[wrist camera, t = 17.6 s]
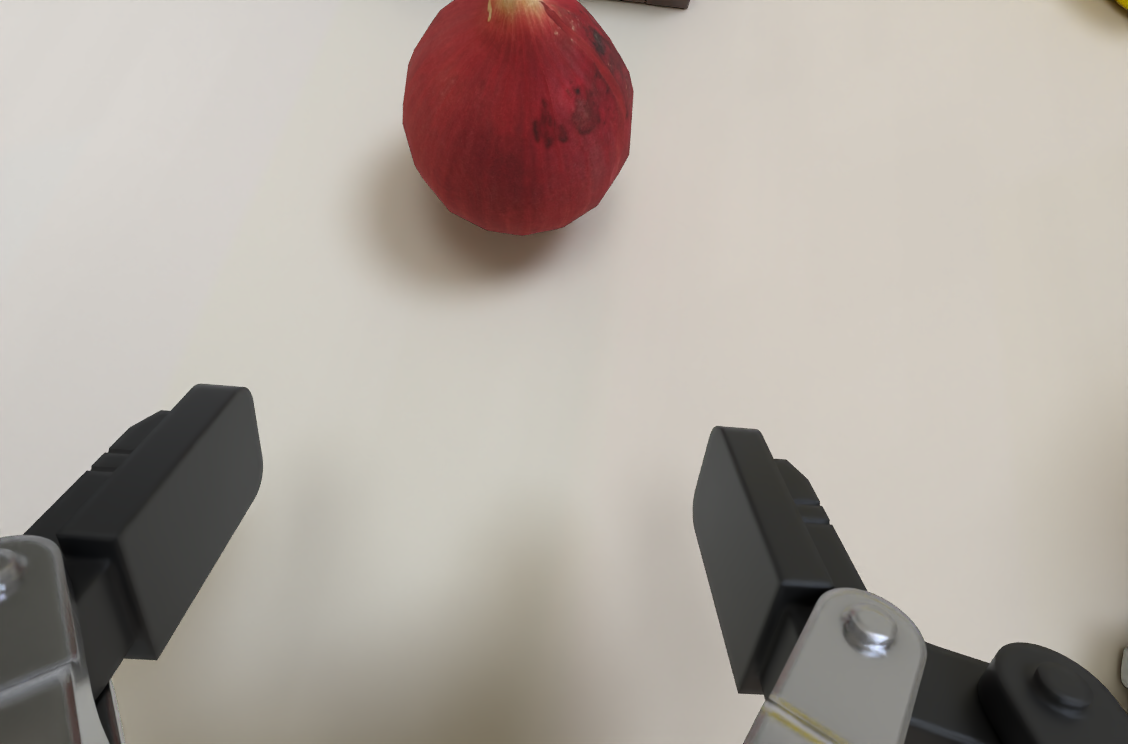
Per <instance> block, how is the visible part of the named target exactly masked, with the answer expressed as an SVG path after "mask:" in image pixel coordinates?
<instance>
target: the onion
mask: <svg viewBox="0 0 1128 744" xmlns="http://www.w3.org/2000/svg"><path fill="white" fill-rule="evenodd" d="M632 105H633V88H632V83H631V78H630V74H629V71H628V69H627V67H626V65H625V64H624V62H623V60H622V58H621V56H620V54H619V53H618V52H617V50H616V48H615V46H614V45H613V43H612V41H611V39H610V38H609V37H608V35H607V34H606V33H605V32H604V30H603V29H602V28H601V26H600V25H599V24H598V22H597V21H596V20H595V19H594V17H593V16H592V15H591V14H590V13H589V12H588V11H587V10H586V9H585V8H584V7H583V6H582V5H581V4H580V3H579V2H578V1H577V0H454V1H452V2H451V3H450V4H448V5H447V6H445V7H444V8H443V9H441V10H440V11H439V13H438V14H437V16H436V17H435V18H434V20H433V21H432V23H431V24H430V26H429V27H428V29H427V30H426V32H425V34H424V35H423V37H422V38H421V40H420V41H419V43H418V45H417V46H416V48H415V49H414V52H413V54H412V57H411V59H410V62H409V64H408V71H407V78H406V86H405V94H404V101H403V126H404V130H405V133H406V137H407V140H408V144H409V147H410V151H411V154H412V158H413V161H414V165H415V167H416V168H417V170H418V171H419V173H420V175H421V176H422V178H423V179H424V181H425V182H426V183H427V184H428V186H429V187H430V188H431V189H432V190H433V192H434V193H435V194H436V195H437V197H438V198H439V199H440V200H441V201H442V203H443V204H444V205H445V206H446V207H447V209H448V210H449V211H450V212H452V213H454V214H456V215H458V216H460V217H461V218H463V219H465V220H467V221H469V222H471V223H473V224H475V225H477V226H479V227H481V228H483V229H485V230H488V231H494V232H501V233H508V234H514V235H521V236H523V235H529V234H534V233H539V232H544V231H549V230H554V229H558V228H562V227H565V226H566V225H568V224H569V223H571V222H572V221H574V220H576V219H577V218H579V217H580V216H582V215H583V214H585V213H586V212H588V211H590V210H591V209H593V208H594V207H596V206H597V205H598V204H599V202H600V201H601V199H602V198H603V196H604V195H605V193H606V192H607V190H608V189H609V187H610V186H611V184H612V183H613V181H614V180H615V178H616V177H617V175H618V174H619V172H620V170H621V168H622V167H623V165H624V163H625V161H626V159H627V158H628V156H629V149H630V136H631V120H632Z"/></svg>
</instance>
